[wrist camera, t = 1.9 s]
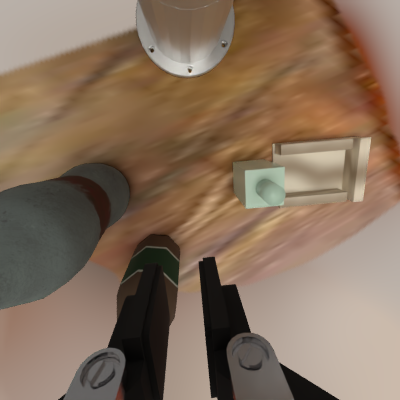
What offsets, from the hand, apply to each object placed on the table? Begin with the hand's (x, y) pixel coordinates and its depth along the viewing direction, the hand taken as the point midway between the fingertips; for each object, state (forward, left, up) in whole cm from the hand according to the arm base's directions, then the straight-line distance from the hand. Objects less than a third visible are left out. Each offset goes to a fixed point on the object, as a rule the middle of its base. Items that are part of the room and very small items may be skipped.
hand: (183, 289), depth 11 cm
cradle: (+1, +20, -27) cm, 34 cm away
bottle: (+1, +10, -27) cm, 29 cm away
